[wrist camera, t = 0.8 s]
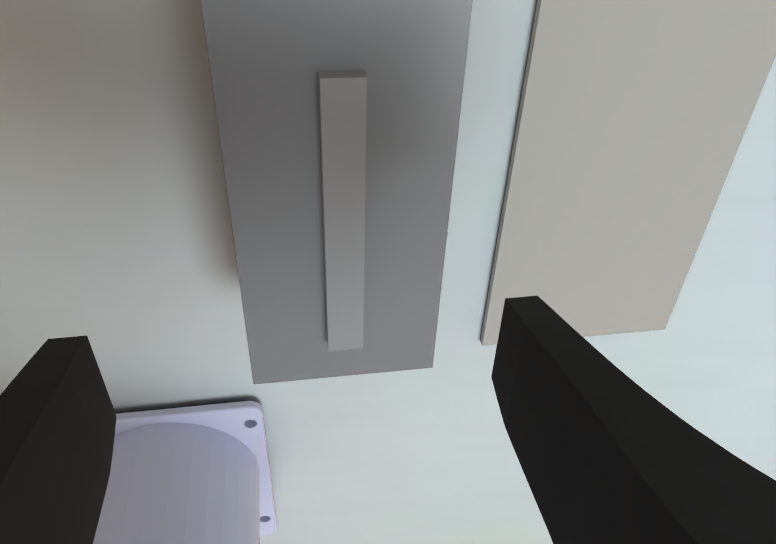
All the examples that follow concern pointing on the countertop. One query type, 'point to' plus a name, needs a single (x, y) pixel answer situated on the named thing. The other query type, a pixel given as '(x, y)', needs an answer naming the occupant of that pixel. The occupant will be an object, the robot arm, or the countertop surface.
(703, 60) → the mat
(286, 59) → the lid
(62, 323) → the countertop surface
